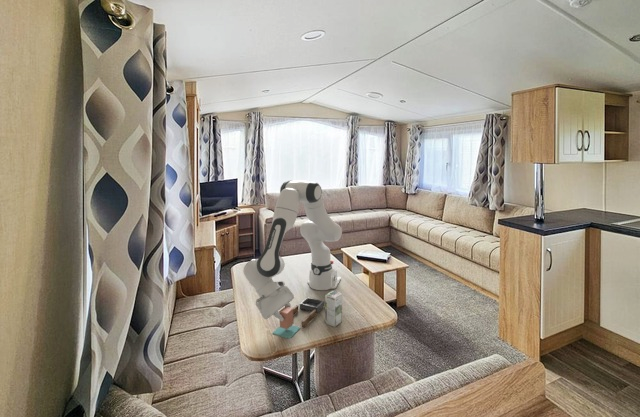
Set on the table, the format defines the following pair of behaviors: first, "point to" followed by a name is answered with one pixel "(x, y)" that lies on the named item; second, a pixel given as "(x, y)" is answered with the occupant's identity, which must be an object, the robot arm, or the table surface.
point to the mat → (286, 331)
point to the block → (286, 317)
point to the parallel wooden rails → (308, 318)
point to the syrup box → (333, 308)
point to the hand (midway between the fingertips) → (287, 316)
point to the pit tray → (311, 304)
